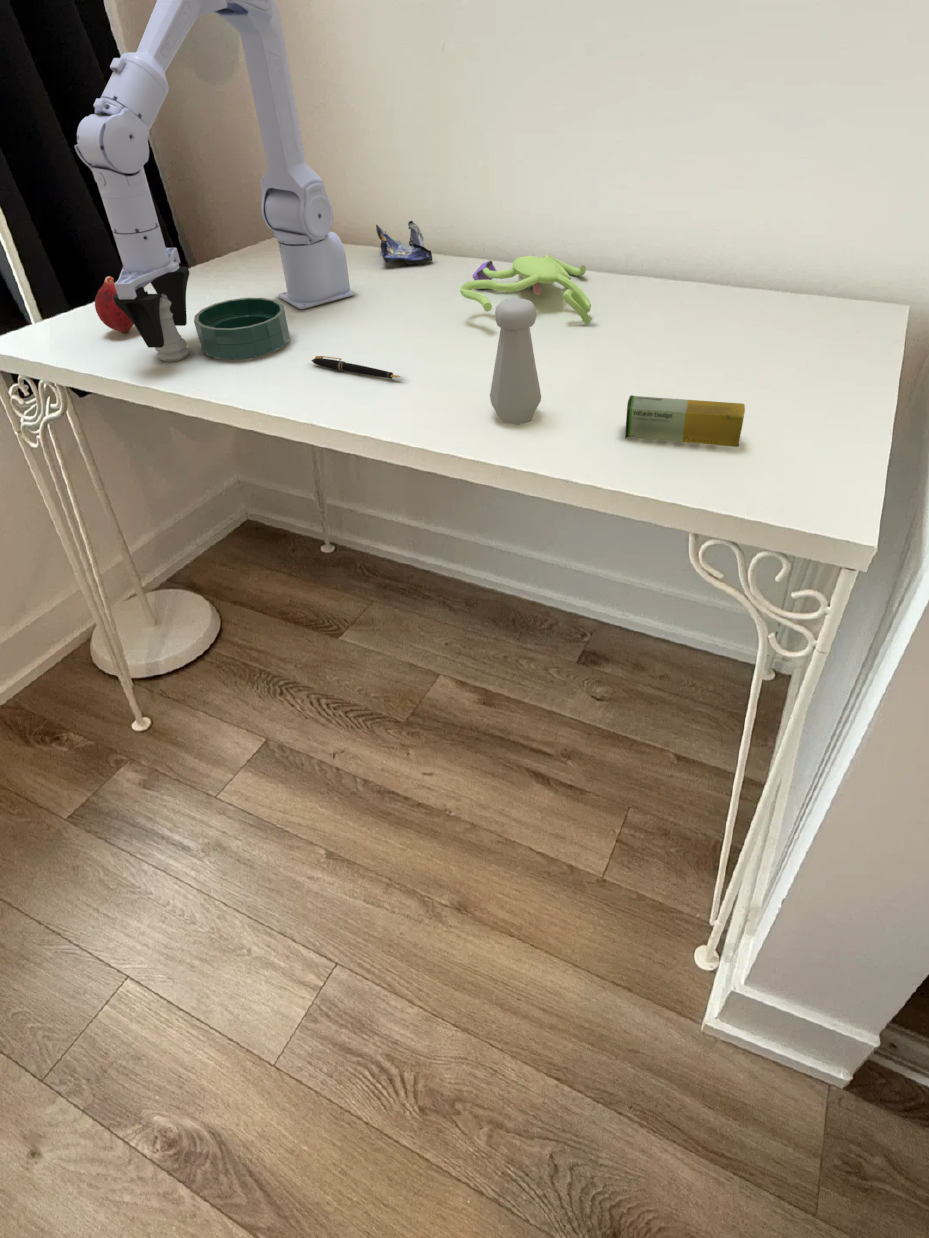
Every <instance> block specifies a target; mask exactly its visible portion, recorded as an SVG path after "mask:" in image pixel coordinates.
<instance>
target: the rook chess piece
mask: <svg viewBox="0 0 929 1238" xmlns="http://www.w3.org/2000/svg"><path fill="white" fill-rule="evenodd" d="M170 306H171V302H170V301H169V300H168V299H167V296H165V294H162V297H160V308H159V309H160V321H161V327H162V331H163V336H164V346H163V347H161V348H154V350H155V351H156V352H157V353H156V358H158V359H159V360H160V361H162V362H166V363H167V362H169V363H171V362H177V361H181V360H183V359H185V358H187V357H188V356H189V353H190V348H189V347H188V343H187V340H185V339H184V338H183V335H182V334H180V332H179V331H178V329H177V326H175V324H174V322H173V318H172V316H173V314H172V313H171V312H170Z"/></svg>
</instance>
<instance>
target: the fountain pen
mask: <svg viewBox="0 0 929 1238" xmlns="http://www.w3.org/2000/svg"><path fill="white" fill-rule="evenodd" d="M310 361H311V362H312V363H313V364H314V365H316V366H319V367H322V368H326V369H329V370H334V371H338V372H348V373H353V374H358V375H362V376H363V375H365V376H370V377H377V378H383V379H391V380H392V379H393V378H396V379H397V378H402V376H401V375H398V374H394V373H393V372H392V371H387V370H383V369H379V368H374V367H369V366H365V365H361V364H356V363H351V362H346V361H343V360H342V358H340V357H334V356H333V357H332V356H325V355H315V357H314V358H313V359H311V360H310Z"/></svg>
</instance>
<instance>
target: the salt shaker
mask: <svg viewBox="0 0 929 1238" xmlns="http://www.w3.org/2000/svg"><path fill="white" fill-rule="evenodd" d="M494 319H495V322H496V325H497V327H499V328H500V330H499V336H498V342H497V347H496V348H497V349H496V353H495V362H494V367H493V373H492V380H491V385H490V392H489V398H490V399H489V400H490V403H491V406H492V408H493V410H494V412H495V413H496V416H497V417H498V419H499V420H500V421H501V422H502V423H503V424H509V425H516V426H519V425H522V424H525V423H528V422H531V421H532V420H533V418H534V415H535V413H536V411H537V409H538V407H539V405H540V404H541V401H542V393H541V388H540V383H539V376H538V370H537V366H536V365H537V364H536V360H535V353H534V347H533V340H532V334H531V333H532V332H531V327H533V326H534V325H535V324H536V320H537V310H536V305H535V303H533V301H531V300H529V299H527V298H520V297H515V298H514V297H513V298H512V297H511V298H507V299H504V300H501V301H500V302H499V303H498V304H497V306H496V307H495V310H494Z"/></svg>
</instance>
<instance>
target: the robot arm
mask: <svg viewBox="0 0 929 1238" xmlns="http://www.w3.org/2000/svg"><path fill="white" fill-rule="evenodd" d="M211 13H215V14H218V16H219V17H221V18H222V19H223V20H225V21H226V22H227V23H228V24H229V25H231V26H232V27H233V28H234V29H235V30H237V32H238V33H239V36H240V40H241V45H242V50H243V54H244V60H245V65H246V69H247V74H248V78H249V83H250V88H251V93H252V99H253V103H254V109H255V112H256V117H257V122H258V126H259V127H258V128H259V131H260V136H261V141H262V146H263V151H264V155H265V160H266V161H265V162H266V165H267V169H266V170H265V172H264V174H263V175H262V177H261V178H260V181H259V182H260V183H259V184H260V187H261V202H260V203H261V204H260V210H261V217H262V219H263V221H264V223H265V225H266V226H267V227H268V228H269V229H270V230H271V231H273V236H274V239H276V240H277V245H278V250H279V254H280V260H281V265H282V270H283V277H284V282H285V286H286V291H285V292H280V293H278V298H280V299H281V300H283V301H285V302H286V303H288V304H290V305H292V306H294V307H295V308H297V309H299V310H306V309H308V308H312V307H315V306H319V305H322V304H328V303H330V302H333V301H338V300H341V299H345V298H348V297H351V296H354V292H353V291H352V290H351V284H350V278H349V271H348V263H347V255H346V250H345V247H344V244H343V241H342V240H341V238H340V236H339V235H338V234H337V233H336V232H335V231H331V229H332V226H333V222H334V208H333V205H332V202H331V200H330V199H329V196H328V195H327V191H326V189H325V183H324V180H323V178H321V176H320V175H318V174H317V173H316V171H314V169H313V168H311V166H309V164H308V163H307V159H306V153H305V147H304V144H303V143H304V142H303V136H302V131H301V126H300V120H299V115H298V109H297V103H296V97H295V92H294V86H293V80H292V75H291V69H290V64H289V58H288V52H287V47H286V41H285V36H284V35H285V34H284V31H283V25H282V18H281V14H280V10H279V6H278V3H277V2H276V0H156V2H155V5H154V7H153V9H152V12H151V14H150V17H149V20H148V22H147V25H146V27H145V30H144V33H143V34H142V37H141V40H140V42H139V45H138V47H137V49H136V51H135V52H131V51H130V52H129V51H128V52H124V53H122V54H121V55H120V57H114V58H113V59H112V61H111V63H110V65H109V68H110V69H111V71H112V73H111V76H110V78H109V80H108V82H107V84H106V85H105V87H104V90H103V92H102V94H101V96H100V98H97V97H96V98H95V101H94V103H93V107H94V113H91V114H89V115H88V116H87V115H86V116H85V117H84V118H82V120H80V122H79V124H78V126H77V131H76V143H77V144H74V149H75V152H76V154H77V156H78V157H79V159H80V160H81V161H82V162H83V163H84V164H85V166H87V167H88V168H89V169H90V171H91V172H92V175H93V179H94V182H95V183H96V184H97V188H98V192H99V194H100V197H101V201H102V203H103V207H104V210H105V213H106V216H107V220H108V223H109V225H110V229H111V231H112V235H113V238H114V242H115V245H116V248H117V251H118V255H119V256H120V261H121V263H122V267H121V271H120V273H119V277H118V279H117V281H114V285H115V288H116V291H117V293H116V294H115V295H114V296H113V299H114V302H115V304H116V305H117V306H118V307H119V308H120V309H121V310H122V311H123V312H124V313H125V314H126V315H127V316H128V317H129V318H130V320H131V321H132V322H133V324H134V325H133V326H134V327H135V329H136V330H137V332H138V333H139V335H140V336H141V337H142V339H143V342H144V343H145V345H146V346H147V348H154V349H155V348H161V347H163V346H164V336H163V331H162V327H161V321H160V309H159V308H160V297H162V294H165V296H167V299H168V300H169V301H170V302H171V306H170V312H171V313H172V314H173V316H172V318H173V322H174V324H175V326H176V327H185V326H186V325H187V324H188V323H187V322H188V321H187V319H188V318H187V317H188V316H187V288H188V281H189V277H190V269H189V267H188V266H183V265H182V266H181V265H179V264H180V263H181V259H180V255H179V252H178V248H177V247H167V246H166V244H165V240H164V237H163V233H162V229H161V225H160V223H159V219H158V216H157V215H158V214H157V211H156V208H155V204H154V201H153V197H152V194H151V190H150V187H149V182H148V179H147V176H146V172H145V168H144V165H145V164H146V163H148V162H149V158H150V145H149V136H150V130H151V128H152V126H153V124H154V123H155V120H156V118H157V116H158V114H159V112H160V111H161V108H162V106H163V104H164V101H165V100H166V97H167V95H168V94H169V91H170V88H169V83H168V80H167V76H166V72H167V70H168V68H169V67H170V65H171V63H172V61H173V59H174V58H175V57H176V54H177V53H178V51H179V49H180V48H181V46H182V44H183V42H184V40H185V39H186V37H187V36H188V34H189V32H190V30H191V29H192V27H193V25H194V23H195V22H196V20H197V19H198V17H200V16H204V15H207V14H211ZM149 284H150V285H151V286H152V288H153V289H154V292H155V293H149V292H148V290H145V287H147V286H148V285H149Z"/></svg>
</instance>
